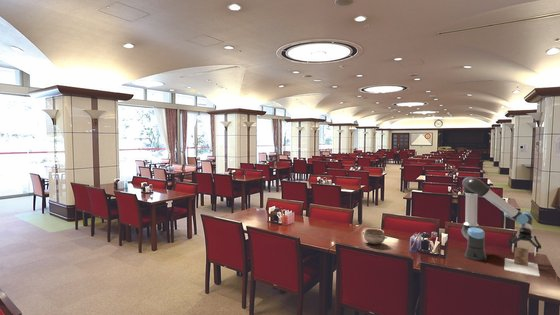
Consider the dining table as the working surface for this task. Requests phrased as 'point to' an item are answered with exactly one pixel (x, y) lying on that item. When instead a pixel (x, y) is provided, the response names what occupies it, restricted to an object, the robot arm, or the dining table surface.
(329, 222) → the dining table surface
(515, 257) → the walnut plaque
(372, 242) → the cooking pot
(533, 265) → the cream white flat board
